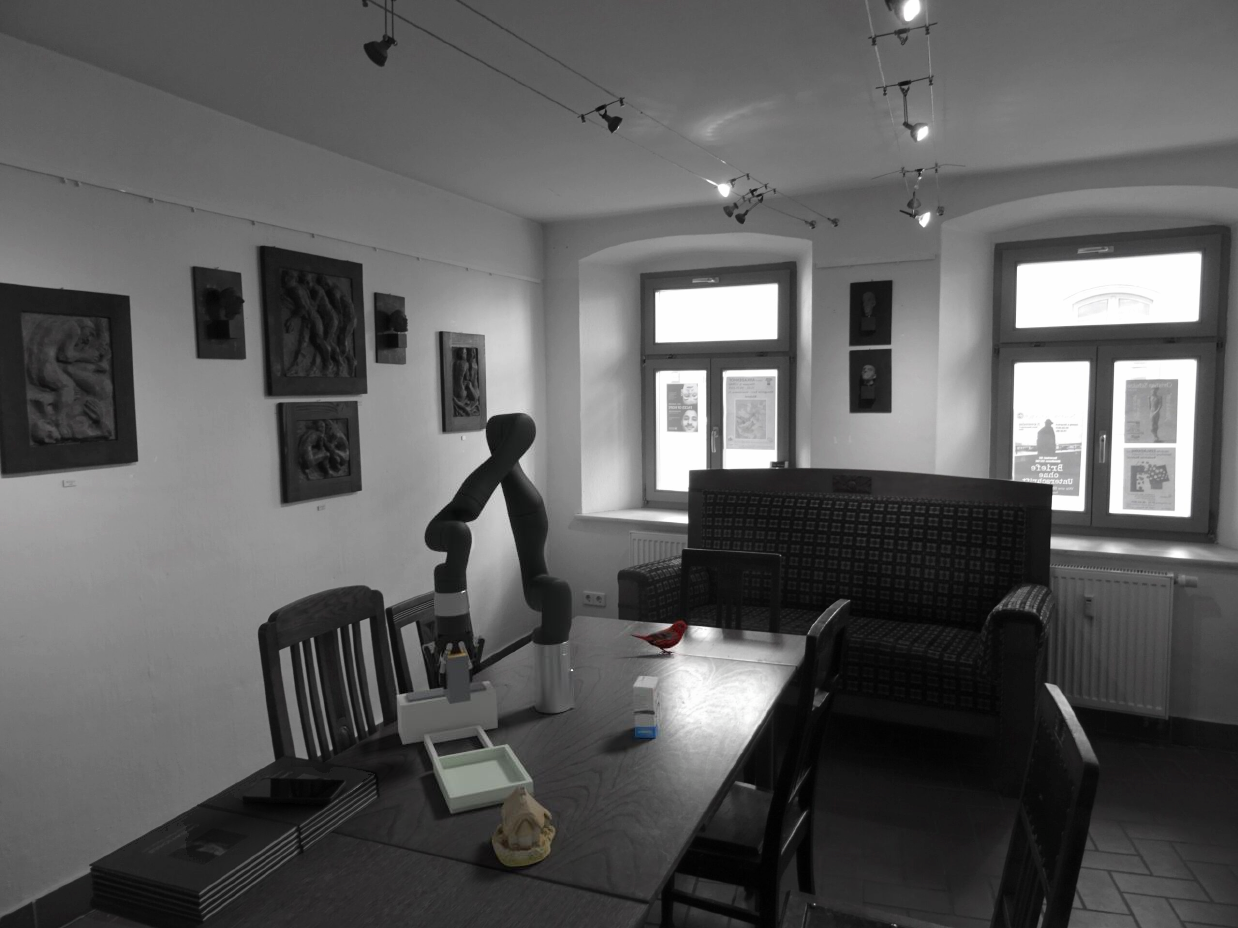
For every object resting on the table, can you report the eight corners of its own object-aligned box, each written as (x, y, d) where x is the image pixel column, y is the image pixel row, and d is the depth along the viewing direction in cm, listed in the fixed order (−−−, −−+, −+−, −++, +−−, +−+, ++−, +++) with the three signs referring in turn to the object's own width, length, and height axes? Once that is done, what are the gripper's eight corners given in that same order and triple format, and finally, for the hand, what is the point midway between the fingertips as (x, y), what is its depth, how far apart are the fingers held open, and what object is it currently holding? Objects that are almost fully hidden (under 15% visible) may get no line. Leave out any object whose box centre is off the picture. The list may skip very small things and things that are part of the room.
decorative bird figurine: (689, 654, 250) (688, 621, 249) (631, 656, 250) (630, 623, 250) (689, 651, 253) (688, 619, 252) (631, 653, 253) (630, 621, 252)
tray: (508, 757, 179) (507, 744, 179) (533, 796, 160) (533, 781, 160) (433, 771, 173) (432, 757, 173) (451, 813, 154) (450, 797, 154)
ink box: (655, 738, 186) (653, 687, 186) (633, 737, 187) (632, 687, 187) (661, 724, 195) (659, 675, 194) (640, 723, 196) (638, 674, 195)
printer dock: (490, 716, 204) (488, 678, 203) (515, 753, 181) (513, 710, 180) (398, 732, 196) (396, 692, 195) (413, 772, 173) (410, 727, 172)
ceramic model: (490, 829, 148) (488, 774, 148) (552, 821, 151) (550, 767, 150) (493, 871, 135) (490, 811, 134) (562, 862, 137) (559, 803, 136)
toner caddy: (463, 689, 188) (461, 645, 187) (470, 700, 180) (468, 655, 180) (443, 692, 186) (441, 648, 185) (449, 703, 179) (447, 658, 178)
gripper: (480, 602, 188) (484, 676, 189) (416, 610, 183) (420, 686, 184) (487, 609, 181) (491, 686, 182) (421, 618, 176) (426, 696, 177)
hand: (456, 685), depth 183 cm, fingers closed on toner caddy, 4 cm apart
